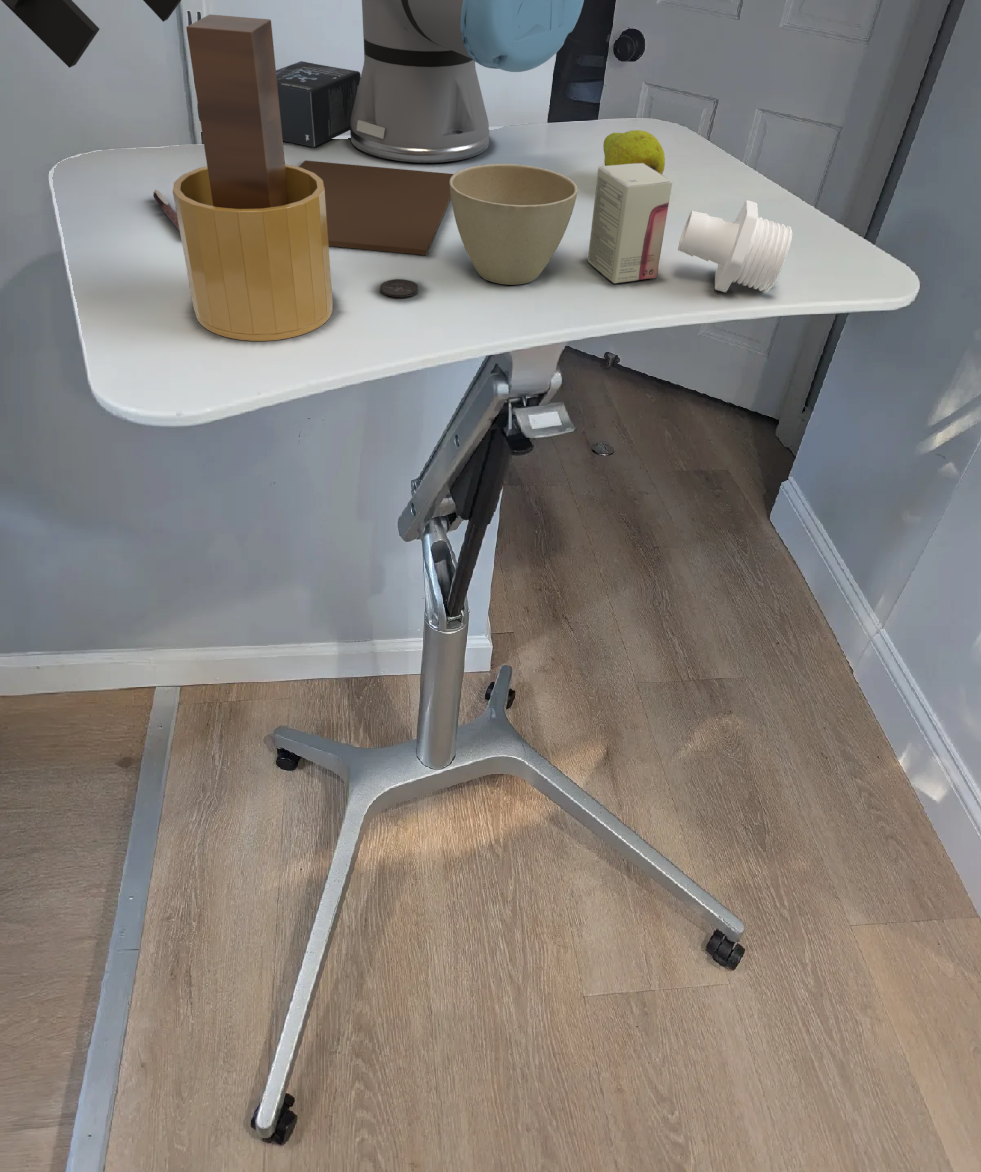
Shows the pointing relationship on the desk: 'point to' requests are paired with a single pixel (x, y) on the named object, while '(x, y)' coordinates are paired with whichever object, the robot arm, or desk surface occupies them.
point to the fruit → (634, 150)
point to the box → (315, 102)
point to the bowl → (511, 218)
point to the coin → (399, 288)
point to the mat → (382, 206)
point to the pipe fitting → (738, 247)
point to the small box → (628, 221)
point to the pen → (166, 207)
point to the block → (239, 110)
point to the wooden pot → (257, 259)
